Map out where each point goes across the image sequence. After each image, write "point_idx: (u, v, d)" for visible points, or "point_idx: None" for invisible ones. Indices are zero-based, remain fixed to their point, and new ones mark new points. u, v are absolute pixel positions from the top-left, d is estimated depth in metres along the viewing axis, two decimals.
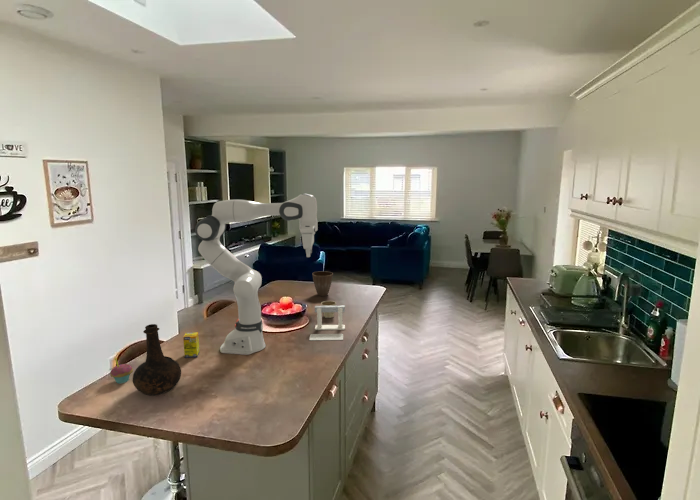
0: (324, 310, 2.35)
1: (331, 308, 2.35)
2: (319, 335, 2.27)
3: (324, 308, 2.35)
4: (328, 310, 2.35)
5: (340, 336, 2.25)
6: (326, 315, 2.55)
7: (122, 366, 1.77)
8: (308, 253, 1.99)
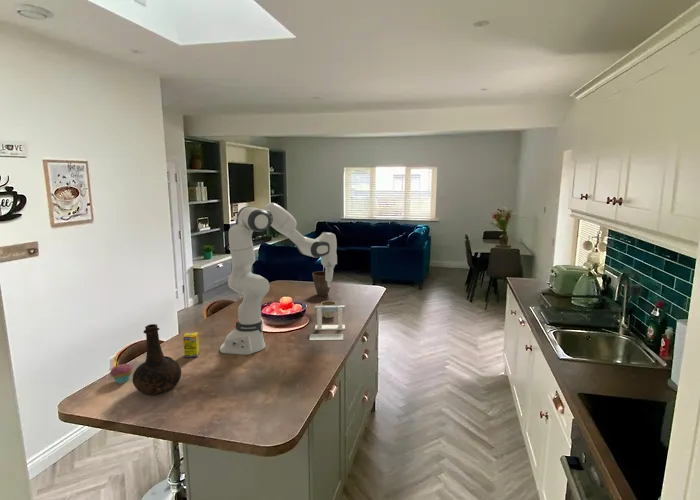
0: (324, 310, 2.35)
1: (331, 308, 2.35)
2: (319, 335, 2.27)
3: (324, 308, 2.35)
4: (328, 310, 2.35)
5: (340, 336, 2.25)
6: (326, 315, 2.55)
7: (122, 366, 1.77)
8: None
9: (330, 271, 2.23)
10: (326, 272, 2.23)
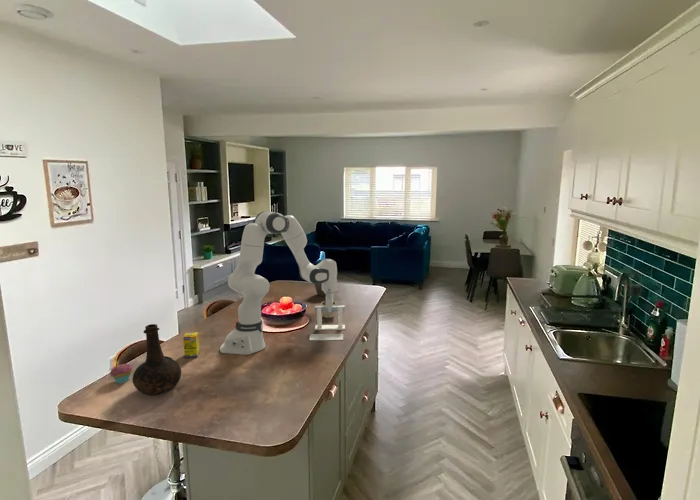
0: (324, 310, 2.35)
1: (331, 308, 2.35)
2: (319, 335, 2.27)
3: (324, 308, 2.35)
4: None
5: (340, 336, 2.25)
6: (326, 315, 2.55)
7: (122, 366, 1.77)
8: None
9: (330, 298, 2.26)
10: (326, 299, 2.26)
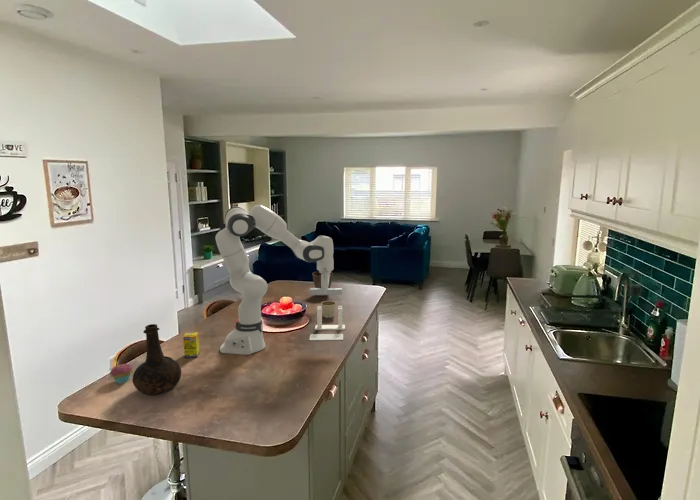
0: (320, 293, 2.19)
1: (327, 290, 2.19)
2: (319, 335, 2.27)
3: (319, 290, 2.19)
4: (324, 293, 2.19)
5: (340, 336, 2.25)
6: (326, 315, 2.55)
7: (122, 366, 1.77)
8: None
9: (326, 277, 2.10)
10: (322, 278, 2.10)
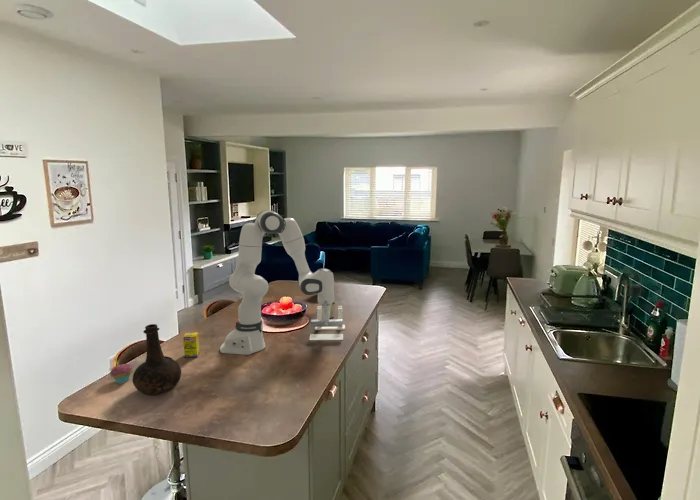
0: (321, 324, 2.23)
1: (328, 322, 2.22)
2: (319, 335, 2.27)
3: (320, 322, 2.22)
4: None
5: (340, 336, 2.25)
6: None
7: (122, 366, 1.77)
8: None
9: (327, 311, 2.13)
10: (323, 312, 2.13)
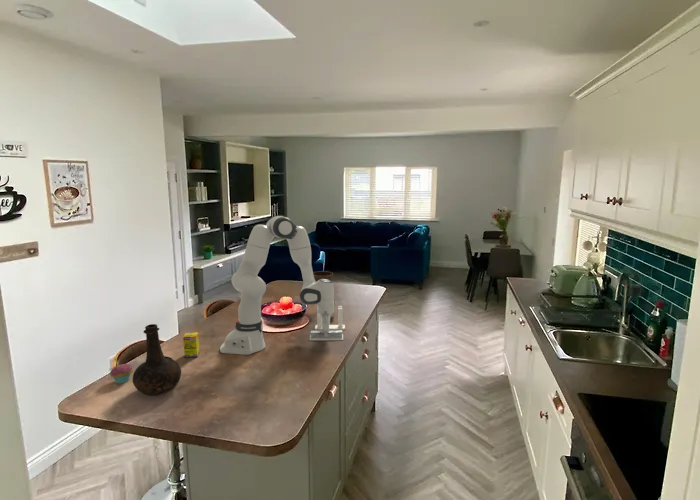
0: (320, 335, 2.23)
1: (328, 333, 2.23)
2: None
3: (320, 333, 2.23)
4: None
5: None
6: None
7: (122, 366, 1.77)
8: None
9: (327, 321, 2.14)
10: (323, 322, 2.14)
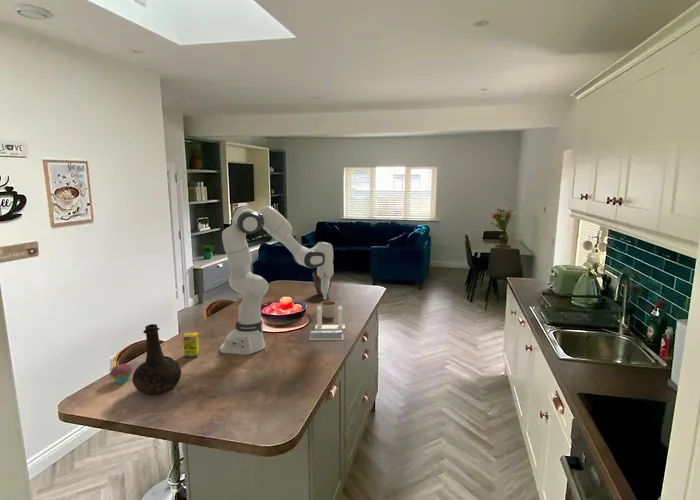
0: (320, 335, 2.23)
1: (328, 333, 2.23)
2: None
3: (320, 333, 2.23)
4: (325, 335, 2.23)
5: None
6: (326, 315, 2.55)
7: (122, 366, 1.77)
8: None
9: (326, 283, 2.14)
10: (322, 284, 2.14)
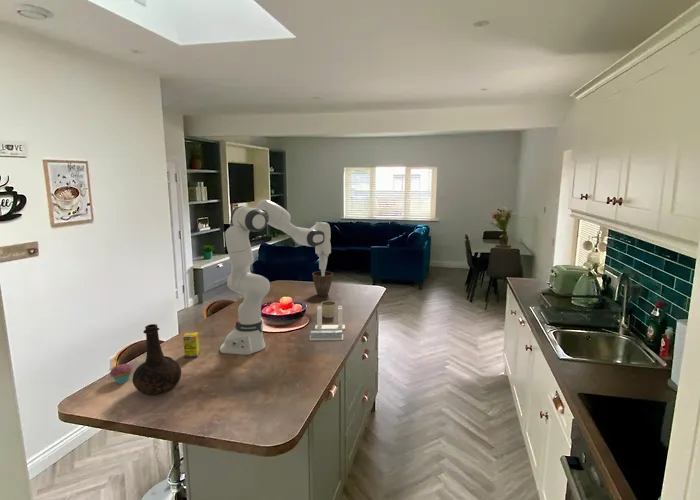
0: (320, 335, 2.23)
1: (328, 333, 2.23)
2: None
3: (320, 333, 2.23)
4: (325, 335, 2.23)
5: None
6: (326, 315, 2.55)
7: (122, 366, 1.77)
8: None
9: (324, 260, 2.26)
10: (320, 261, 2.26)
